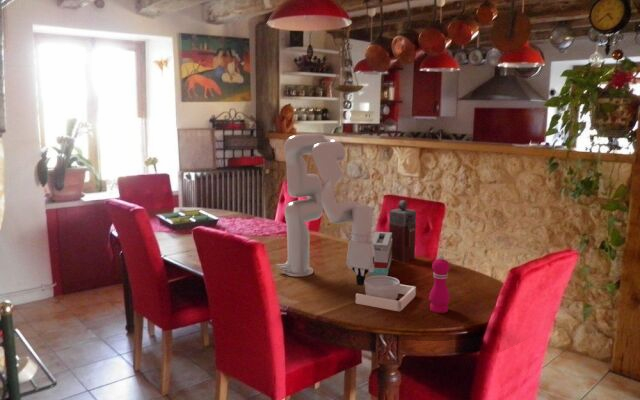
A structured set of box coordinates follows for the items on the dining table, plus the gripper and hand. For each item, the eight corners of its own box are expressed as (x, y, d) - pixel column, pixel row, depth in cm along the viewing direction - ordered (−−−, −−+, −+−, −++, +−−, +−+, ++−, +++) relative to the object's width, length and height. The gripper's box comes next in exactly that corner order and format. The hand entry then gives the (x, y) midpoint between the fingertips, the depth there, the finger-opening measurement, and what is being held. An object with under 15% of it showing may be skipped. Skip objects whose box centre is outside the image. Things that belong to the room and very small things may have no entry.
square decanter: (407, 263, 240) (409, 203, 235) (388, 258, 248) (389, 200, 243) (418, 259, 246) (420, 201, 241) (399, 254, 254) (401, 198, 249)
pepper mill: (426, 306, 188) (428, 252, 185) (445, 305, 189) (448, 252, 185) (432, 313, 181) (434, 258, 178) (452, 313, 182) (455, 257, 178)
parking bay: (355, 303, 191) (355, 294, 190) (374, 288, 207) (374, 280, 206) (400, 311, 183) (400, 302, 183) (415, 295, 199) (416, 286, 198)
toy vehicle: (392, 259, 246) (393, 228, 244) (387, 280, 217) (388, 245, 214) (375, 258, 248) (375, 227, 245) (368, 278, 219) (368, 244, 216)
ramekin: (363, 291, 203) (364, 274, 202) (398, 293, 202) (398, 275, 200) (363, 304, 190) (364, 286, 189) (400, 305, 189) (401, 287, 187)
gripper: (339, 237, 196) (338, 284, 199) (376, 242, 189) (375, 290, 192) (347, 233, 202) (347, 278, 206) (383, 238, 196) (382, 284, 199)
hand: (360, 284), depth 199 cm, fingers closed
